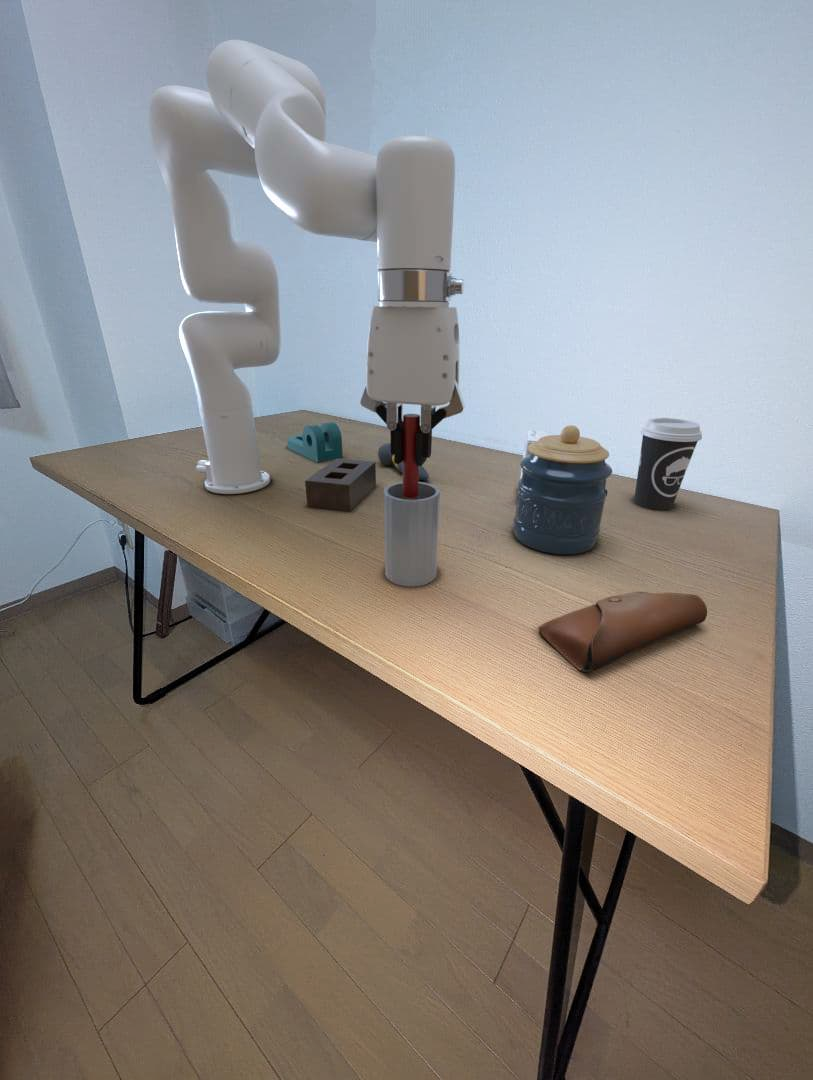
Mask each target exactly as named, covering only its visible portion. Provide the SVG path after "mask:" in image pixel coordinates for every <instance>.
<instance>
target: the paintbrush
mask: <svg viewBox="0 0 813 1080" xmlns="http://www.w3.org/2000/svg"><path fill="white" fill-rule="evenodd" d="M377 457H378V460H379V461H380V463H382V464H383V465H385V466H395V467H396V468H397V470H398V471H400V472H401V473H402V474H403V461H402V462H401V463H400V464H395V463H394V455H392V454H391V442H389V443H384V444H382V445H380V446H379V448H378V450H377ZM429 479H430V476H429V473H428V471H427V469H425V467H424V466H423V465H422V466H419V480H420V481H427V480H429Z"/></svg>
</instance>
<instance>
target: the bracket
mask: <svg viewBox="0 0 813 1080" xmlns="http://www.w3.org/2000/svg"><path fill="white" fill-rule="evenodd" d="M301 433H302V434H298V435H297V434H296V435H292V436H288V437H287V438H286V442H287V448H288V450H290V451H292V452H295V453H297V454H299V455H301V456H303V457H305V458H308V459H309V460H312V461H314V462H316V463H319V464H320V463H323V462H324V463H325V462H328V461H333V460H335V459H336V458H340V459H344V455H343V438H342V433H341V430H340V427H339V425H338V424H337V423H336V422H334V421H329V422H324V423H321V424H320V426H319V425H318V424H309V425H305V426H304V427H303V429H302V432H301Z"/></svg>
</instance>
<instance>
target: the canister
mask: <svg viewBox="0 0 813 1080" xmlns="http://www.w3.org/2000/svg"><path fill="white" fill-rule="evenodd" d="M528 450H529V452H530V454H529V455H528V456H526V457H524V458H523V457H522V459H521V460H520V462H519V464H520V467H521V469H523V475H522V478H521V479H520V478H519V480H518V482H517V486H518V487H517V488H518V490H517V498H516V507H515V514H514V517H513V522H512V523H513V524H512V525H513V534H514V537H515V538H516V540H518V541H519V542H520V543H521V544H523V545H525V547H528V548H530V549H532V550H536V551H539V552H542V553H546V554H547V553H548V554H553V555H554V554H555V555H578V554H582V553H585V552H588V551H590V550H592V549H593V548H594V547H595V545H596V544H597V543H596V542H597V541H598V539H599V536H600V533H601V532H600V531H601V527H600V525H601V521H602V516H603V512H604V507H605V502H606V497H607V496H608V493H609V492H608V489H607V487H606V486H607V479H608V478H609V477H610V476H611V475H612V474H613V468H612V467H611V465H610V464H609V463H607V461H606V460H607V459H608V458H609V457H610V453H609V451H608V449H606V448H605V447H603V446H602V445H601V443H600V442H599V441H597V440H594V439H592V438H589V437H584V436H581V431H580V429H579V428H578V427H577V426H576V425H572V424H570V425H566V426H564V427H563V428H562V430H561V432H560V434H553V435H550V436H544V437H542V438H540V439H539V440H538V441H536V442H533V443H531V444H530V445H529V446H528Z"/></svg>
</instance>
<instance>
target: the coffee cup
mask: <svg viewBox="0 0 813 1080" xmlns="http://www.w3.org/2000/svg"><path fill="white" fill-rule="evenodd" d="M640 434H641V435H642V438H641V439H642V440H641V448H640V455H639V462H638V468H637V477H636V484H635V492H634V498H633V502H634V503H635V504H636V505H637V506H639V507H641V508H644V509H648V510H654V511H655V510H656V511H667V510H671V509H672V508H673V507H674V504H675V501H676V499H677V496H678V494H679V491H680V488H681V485H682V483H683V481H684V478H685V476H686V473H687V470H688V467H689V464H690V462H691V459H692V457H693V454H694V451H695V449H696V447H697V445H698V443H699V441H701V440H703V434H702V431H701V426H700V423H697V422H696V421H692V420H687V419H681V418H672V417H654V418H653V417H652V418H650V419H648V420H647V422H646V424H645V425H643V426H642V427H641V430H640Z"/></svg>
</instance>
